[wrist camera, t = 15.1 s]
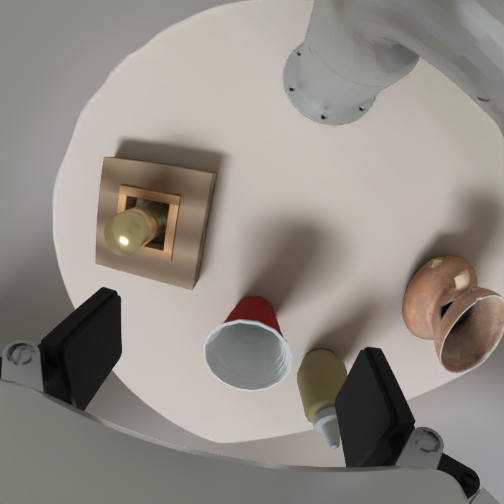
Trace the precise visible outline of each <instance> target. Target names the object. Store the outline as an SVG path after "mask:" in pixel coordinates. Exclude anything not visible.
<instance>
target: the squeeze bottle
mask: <svg viewBox="0 0 504 504" xmlns="http://www.w3.org/2000/svg"><path fill="white" fill-rule="evenodd" d="M346 378H347V370H346V367H345V365H344V363H343V362H342V361H341V360H340V359H339V358H338V357H337V356H336V355H335V354H334V353H332V352H331V351H329V350H326V349H317V350H314V351H312V352H310V353H309V354H307V355H306V356H305V358H304V359H303V361H302V363H301V366H300V368H299V371H298V373H297V383H298V387H299V391H300V395H301V399H302V403H303V407H304V411H305V415H306V418H307V419H308V421H309V422H311V423H313V425H314V430H315V431H316V432H317V433H319V434H323V435H325V437H326V439H327V442H328V443H329V446H330V448H332V449H335V448H338V447H339V442H340V430H339V425H338V420H337V415H336V410H335V405H334V404H335V399H336V396H337V395H338V393H339V391H340V389H341V387H342V385H343V384H344V382H345V380H346Z"/></svg>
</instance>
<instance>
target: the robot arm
mask: <svg viewBox="0 0 504 504" xmlns="http://www.w3.org/2000/svg"><path fill="white" fill-rule="evenodd" d="M298 54H301V55H300V56H298ZM419 57H421V58H423V59H424V60H425V61H427V62H428V63H429V64H431V65H433V66H434V67H436V68H437V69H438V70H439V71H441V72H442V73H443V74H444V75H445V76H447V77H448V78H449V79H450V80H451V81H453V82H454V83H455V84H456V85H457V86H458V87H459V88H460V89H462V90H463V91H464V92H465V93H466V94H467V95H468V96H469V97H470V98H471V99H472V100H473V101H474V102H475V103H476V104H477V105H478V106H480V107H481V108H482V109H483V110H484V111H485V112H486V113H487V114H488V115H489V116H490V117H491V118H492V119H493V120H494V121H495V122H496V123H497V124H498V125H499V126H500V127H501V128H503V129H504V0H314V6H313V10H312V14H311V18H310V22H309V25H308V29H307V32H306V36H305V40H304V43H303V45H302V46H300V47H299V48H297V49H296V50H295V51H294V52H293V53H292V54H291V55H290V57H289V58H288V60H287V62H286V65H285V68H284V76H283V82H284V87H285V91H286V93H287V95H288V98H289V99H290V101H291V102H292V104H293V105H294V106H295V107H296V108H297V109H298V110H299V111H300V112H301V113H302V114H304V115H305V116H306V117H308V118H310V119H312V120H314V121H316V122H319V123H323V124H328V125H343V124H347V123H351V122H353V121H355V120H357V119H359V118H361V117H362V116H363V115H364V114H366V113H367V112H368V110H369V109H370V107H371V106H372V104H373V101H374V99H375V94H377V93H379V92H380V91H382V90H384V89H385V88H387V87H389V86H390V85H392V84H394V83H396V82H397V81H399V80H400V79H402V78H404V77H405V76H406V75H407V74H409V73H410V72H411V71H412V70H413V68H414V67H415V65H416V64H417V62H418V60H419ZM290 89H293V90H294V91H290ZM359 108H361V109H362V111H360V110H359ZM321 116H324V117H325V119H322V118H321ZM121 354H122V340H121V297H120V296H118V294H117V292H116V291H115V290H112V289H108V288H105V287H102V288H101V289H99V290H98V291H97V292H96V293H95V294H93V295H92V296H91V297H90V298H89V299H88V300H86V301H85V302H84V303H83V304H82V305H80V306H79V307H78V308H77V309H76V310H75V311H74V312H72V313H71V314H70V315H69V316H68V317H67V318H66V319H65V320H63V321H62V322H61V323H60V324H59V325H58V326H57V327H55V328H54V329H53V330H52V331H51V332H50V333H49V334H48V335H47V336H46V337H45V338H43V339H42V340H41V343H40V344H39V345H38V346H37V345H36V344H34V343H33V342H30V341H27V340H19V341H14V342H12V343H10V344H9V345H7V346H6V348H5V349H4V352H3V356H2V357H0V504H500V503H499V502H498V501H497V500H496V499H495V498H494V497H493V496H492V495H491V494H490V493H489V492H487V491H486V490H485V489H484V488H481V489H479V486H480V481H479V477H478V475H477V474H476V473H475V471H473V470H472V469H471V468H469V467H467V466H465V465H463V464H462V463H460V462H458V461H456V460H455V459H453V458H451V457H449V456H448V455H446V454H444V453H442V452H443V448H444V443H443V440H442V438H441V436H440V435H439V434H438V433H437V432H436V431H434V430H433V429H430V428H428V427H418V428H416V429H415V427H414V423H415V419H414V417H413V415H412V412H411V410H410V408H409V406H408V404H407V401H406V399H405V397H404V395H403V393H402V391H401V389H400V386H399V384H398V382H397V380H396V378H395V376H394V374H393V372H392V370H391V368H390V366H389V364H388V362H387V360H386V358H385V356H384V354H383V352H382V350H381V349H380V348H373V347H366V348H365V349H364V350H361V351H360V352H359V354H358V356H357V358H356V360H355V362H354V364H353V366H352V368H351V370H350V372H349V374H348V376H347V378H346V380H345V382H344V384H343V385H342V387H341V389H340V391H339V393H338V395H337V396H336V399H335V404H334V405H335V410H336V415H337V420H338V425H339V430H340V436H341V440H342V446H343V451H344V457H345V463H346V467H309V466H294V465H282V464H273V463H265V462H258V461H250V460H244V459H238V458H232V457H227V456H222V455H217V454H212V453H208V452H202V451H198V450H195V449H190V448H187V447H183V446H179V445H176V444H172V443H169V442H165V441H162V440H159V439H155V438H152V437H149V436H146V435H143V434H140V433H137V432H134V431H132V430H129V429H126V428H124V427H121V426H118V425H116V424H113V423H111V422H108V421H106V420H103V419H101V418H98V417H96V416H94V415H91V414H89V413H87V412H85V411H84V410H85V409H86V407H87V406H88V404H89V403H90V401H91V400H92V398H93V397H94V395H95V394H96V392H97V391H98V389H99V388H100V386H101V385H102V383H103V382H104V380H105V379H106V377H107V376H108V375H109V373H110V372H111V370H112V369H113V367H114V366H115V364H116V363H117V362H118V360H119V359H120V357H121Z"/></svg>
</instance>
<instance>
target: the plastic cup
mask: <svg viewBox="0 0 504 504" xmlns="http://www.w3.org/2000/svg"><path fill="white" fill-rule="evenodd" d="M202 347H203V360H204V362H205V364H206V366H207V368H208V370H209V372H210V373H211V374H212V375H213V376H214V377H215V378H217V379H218V380H219V381H220V382H221V383H223V384H225V385H227V386H230V387H232V388H234V389H236V390H243V391H250V392H255V391H262V390H268V389H270V388H272V387H274V386H276V385H278V384H280V383H281V382H282V381H283V380H284V379H285V378H286V376H287V375H288V374H289V372H290V371H291V365H292V359H293V356H292V354H291V351H290V348H289V345H288V342H287V341H286V340H285V339H284V338H283V336H282V333H281V331H280V327H279V324H278V321H277V319H276V316H275V314H274V311H273V309H272V306H271V305H270V304H269V303H268V302H267V301H266V300H265V299H262V298H260V297H253V296H251V297H247V298H244V299H243V300H242V301H240V302H239V303H238V304H237V305H236V307H235V308H234V310H232V312H231V313H230V315H229V316H228V317H227V319H226V320H225V322H224V323H222V324H221V325H219V326H218V327H217V328H215V329H214V330H212V331H211V332H210V333H209V334H208V336H207V338H206V340H205V342H204V344H203V346H202Z"/></svg>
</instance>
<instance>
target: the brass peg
mask: <svg viewBox="0 0 504 504" xmlns="http://www.w3.org/2000/svg"><path fill="white" fill-rule="evenodd" d="M168 213H169V212H168V210H167V208H166V207H165V206H164V205H163V204H162V203H160V202H157V201H149V202H146V203H144V204H141V205H138V206H136V207H133V208H131V209H128V210H125V211H123V212H120V213H118V214H115V215H113V216H112V217H110V218H109V219H108V221H107V222H106V224H105V228H104V238H105V241H106V244H107V245H108V247H109V248H110V249H111V251H113V252H114V253H115V254H117V255H120V256H130V255H132V254H134V253H135V252H136V251H138V250H139V249H140V248H142V247H143V246H145V245H146V244H147V243H149V242H150V241H152V240H153V239H154V238H156V237H157V236H159V235H160V234H161V233H163V232H164V231H165V230H166V227H167V220H168Z"/></svg>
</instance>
